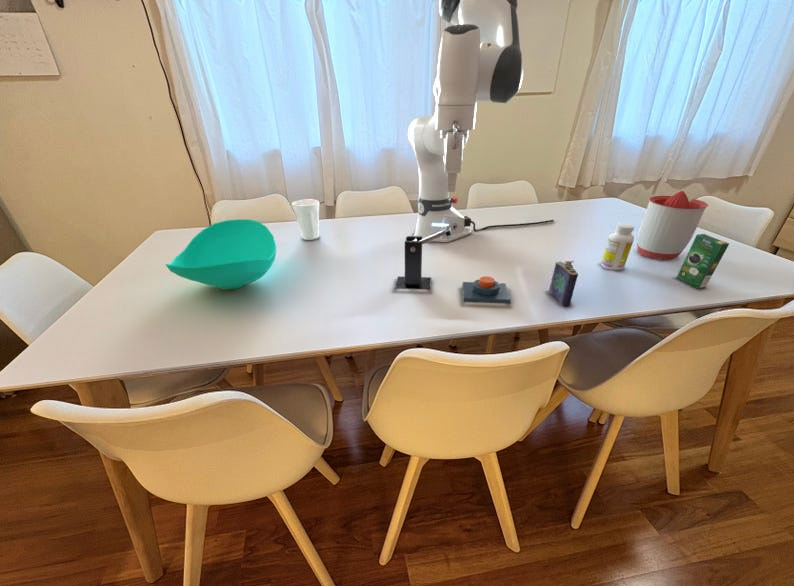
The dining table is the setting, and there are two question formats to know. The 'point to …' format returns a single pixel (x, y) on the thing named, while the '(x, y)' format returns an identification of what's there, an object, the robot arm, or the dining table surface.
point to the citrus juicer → (669, 225)
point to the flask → (563, 282)
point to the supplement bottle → (618, 247)
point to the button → (486, 282)
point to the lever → (436, 235)
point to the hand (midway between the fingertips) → (450, 187)
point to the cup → (307, 217)
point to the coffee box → (702, 260)
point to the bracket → (413, 266)
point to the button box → (485, 293)
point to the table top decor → (227, 254)
